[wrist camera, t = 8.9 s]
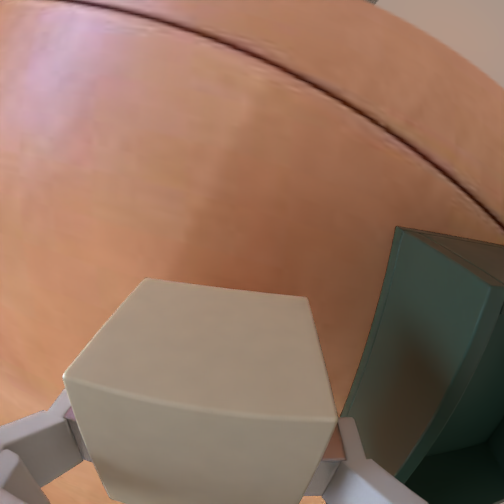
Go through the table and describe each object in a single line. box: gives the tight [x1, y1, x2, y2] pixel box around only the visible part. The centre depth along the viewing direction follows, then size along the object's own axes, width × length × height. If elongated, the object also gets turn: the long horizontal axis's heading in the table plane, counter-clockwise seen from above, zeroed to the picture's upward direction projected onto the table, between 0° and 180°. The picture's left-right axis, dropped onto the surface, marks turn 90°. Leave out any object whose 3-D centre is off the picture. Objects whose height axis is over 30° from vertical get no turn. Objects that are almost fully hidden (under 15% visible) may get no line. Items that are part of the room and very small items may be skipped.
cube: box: [63, 278, 338, 504], centre depth 8 cm, size 5×5×5 cm
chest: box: [326, 226, 504, 504], centre depth 12 cm, size 16×15×7 cm
